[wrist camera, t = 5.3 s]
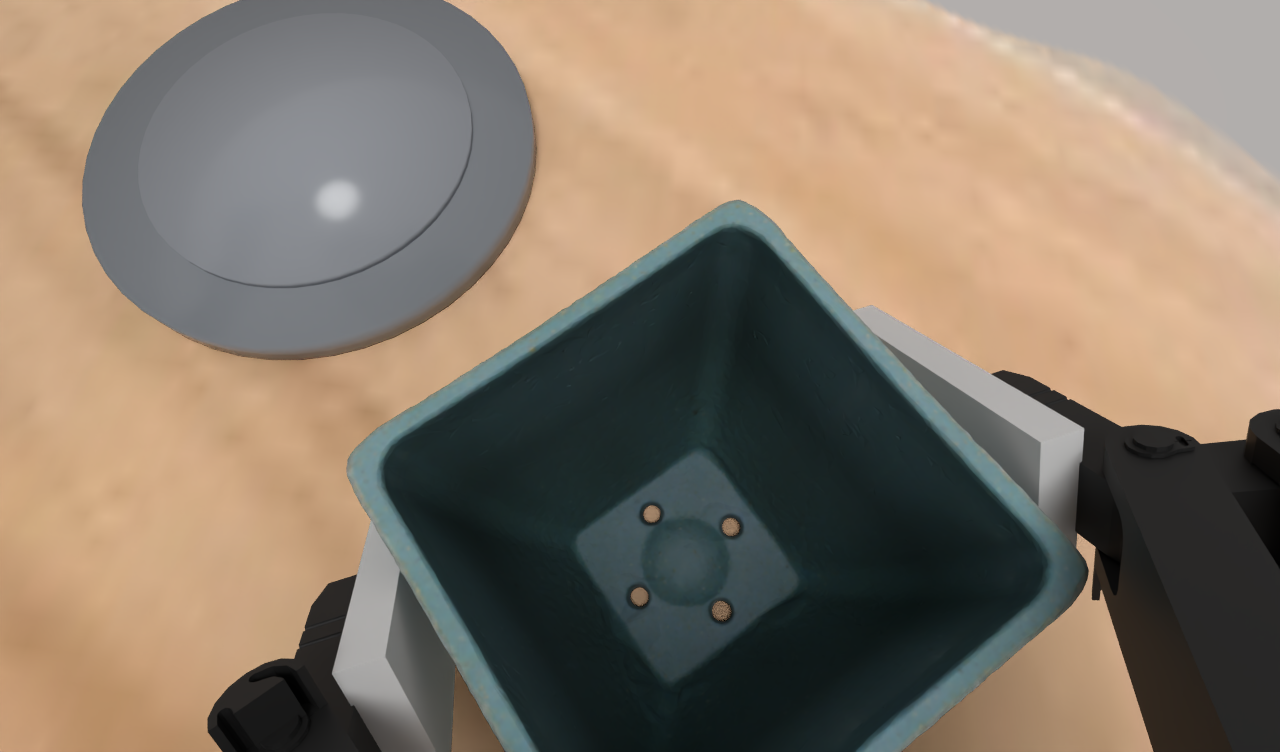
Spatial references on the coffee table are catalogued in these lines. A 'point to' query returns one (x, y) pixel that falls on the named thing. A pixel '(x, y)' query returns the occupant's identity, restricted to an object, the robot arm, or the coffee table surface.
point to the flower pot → (710, 519)
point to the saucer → (310, 173)
